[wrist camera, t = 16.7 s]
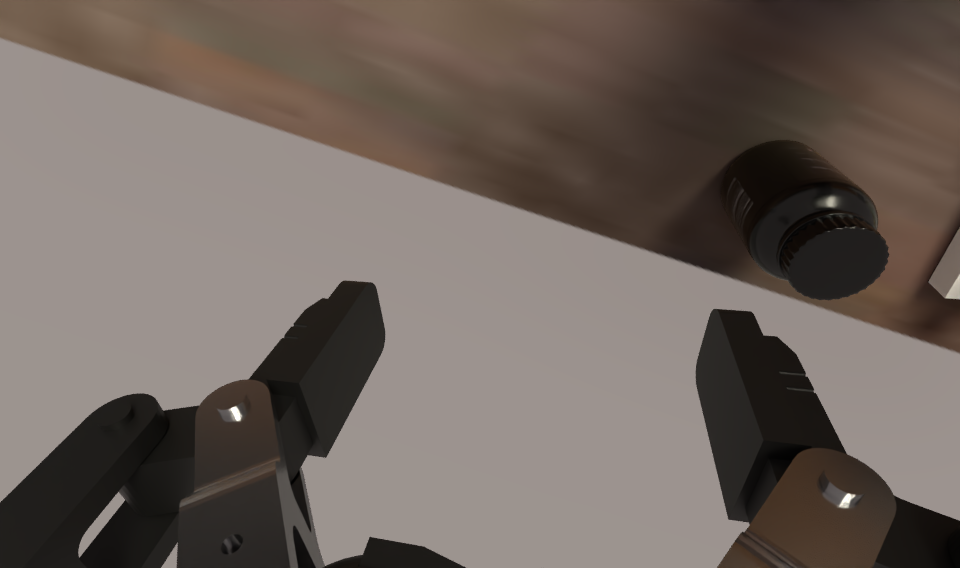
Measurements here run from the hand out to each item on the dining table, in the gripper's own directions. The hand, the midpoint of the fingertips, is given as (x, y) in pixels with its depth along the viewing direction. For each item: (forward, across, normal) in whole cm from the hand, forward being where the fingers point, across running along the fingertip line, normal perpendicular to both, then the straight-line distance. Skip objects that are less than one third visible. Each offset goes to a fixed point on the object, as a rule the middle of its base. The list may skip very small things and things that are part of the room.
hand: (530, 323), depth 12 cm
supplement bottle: (+28, -15, +7) cm, 33 cm away
